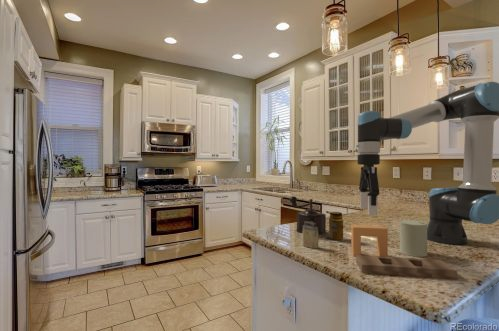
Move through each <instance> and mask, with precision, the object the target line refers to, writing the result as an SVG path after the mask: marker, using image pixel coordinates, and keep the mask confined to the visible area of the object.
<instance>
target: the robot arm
mask: <svg viewBox="0 0 499 331" xmlns="http://www.w3.org/2000/svg"><path fill="white" fill-rule="evenodd" d="M455 119H460V121H461V122H462V123H464V124H465V125H464V148H463V150H464V151H463V170H462V172H463V173H462V174H463V176H462V183H461V184H460V185H459V186H456V187H455V186H454V187H436V188H435V187H434V188H431V189H430V190H429V197H428V200H429V201H428V204H429V222H428V223H427V224H428V225H427V240H428V241H432V242H436V243H440V244H448V245H465V244H468V235H467V233H466V231H465V227H464V225H463V221H467V222H471V223H473V224H474V223H475V224H481V225H491V224H494V223H496V222H498V220H499V195H498V194H497V190H498V189H497V188H496V187H495V186H494V185H492V178H493V175H492V174H493V153H494V152H493V150H494V126H495V125H494V124H495V122H496V121H497V120H498V119H499V82H496V81H487V82H486V81H485V82H483V83H481V82H480V83H478V84H476V85H473V86H469V87H465V88H462V89H459V90H456V91H453V92H450V93H448V94H447V95H444V96H442V97H439V98H437V99H434V100H432V101H430V102H429V103H428V104H427V105H423V106H421V107H417V108H415V109H411V110H409V111H406V112H401V113H400V114H396V115H393V116H390V117H382V116H381V112H380V111H378V110H377V111H376V110H366V111H362V112H360V113H359V114H358V116H357V125H356V126H357V144H356V145H355V146H356V148H357V153H358V155H357V164H358V165H363V166H361V167H360V178H359V184H358V186H359V187H358V189H359V193H360V194H359V195H360V196H359V197H360V198H359V199H360V201H359V209H361V210H368V212H367V213H368V214H367V215H368V216H378V196H379V195H380V194H381V192H380V186H379V178H378V167H377V166H378V165H380V164H381V158H380V157H381V156H380V153H381V141H387V140H388V141H389V140H395V139H396V140H401V139H403V140H404V139H407V138H409V137H410V135H411V134H412V131H413V129H415V128H419V127H420V126H424V125H426V124H430V123H433V122H434V123H440V122H444V121H449V120H455Z"/></svg>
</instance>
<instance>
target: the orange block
mask: <svg viewBox="0 0 499 331" xmlns="http://www.w3.org/2000/svg"><path fill="white" fill-rule="evenodd" d="M350 226H351V228H350V229H351V231H350V232H351V233H350V234H351V242H350V243H351V248H350V249H351V254H352V257H356V255H362V237H376V256H382V257H389V254H388V253H389V252H388V248H389V247H388V245H389V242H388V240H389V239H388V238H389V236H388V235H389V234H388V230H389V229H388V227H386V226H385V225H365V224H364V225H362V224H361V225H360V224H351V225H350Z"/></svg>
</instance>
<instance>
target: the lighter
mask: <svg viewBox="0 0 499 331" xmlns="http://www.w3.org/2000/svg"><path fill="white" fill-rule="evenodd" d="M308 224H310V226H309V225H308ZM314 225H316V223H313V222H308V221H306V222H304V226H303V233H302V246H303V247H306V248H311V249H319V234H318V227H314Z"/></svg>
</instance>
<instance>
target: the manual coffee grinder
mask: <svg viewBox="0 0 499 331" xmlns="http://www.w3.org/2000/svg"><path fill="white" fill-rule="evenodd" d="M297 200H298V198H297V196H295V195H294V196H290V197H289V199H288V201H289V202H290V203H291V205H290V206H291V207H296V208H305V210H303V211H301V212H297V213H296V232H298V233H301V234H303V226H304V222H306V221H308V222H313V223H316V225H314V227H318V235H321V234H326V233H327V230H326V229H327V227H326V226H327V224H326V222H327V220H326V219H327V218H326V217H327V216H326V213H323V212H318V211H317V210H315V209H313V199H312V198H310V199H309V202H308V203H306V204H303V205H298V204H297ZM308 206H309V207H310V208H306V207H308ZM308 225H309V226H310V224H308Z"/></svg>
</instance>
